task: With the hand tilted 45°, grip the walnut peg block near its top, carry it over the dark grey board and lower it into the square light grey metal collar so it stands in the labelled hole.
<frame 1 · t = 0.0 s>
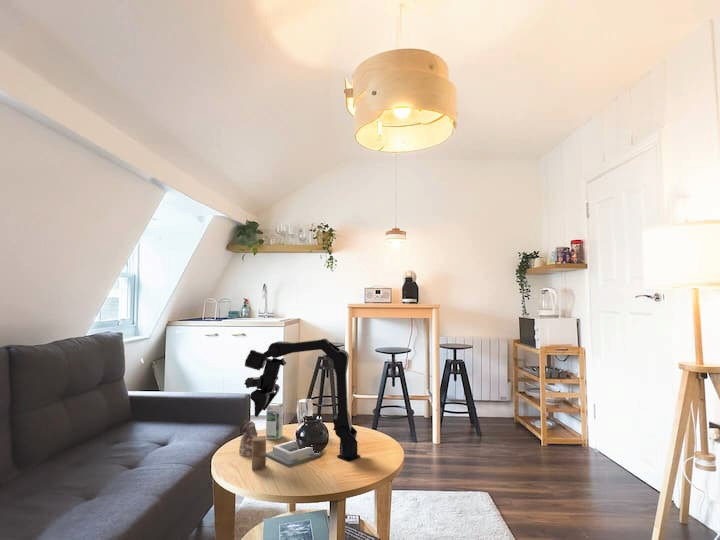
hand: (259, 413, 157), 15 cm above the table, tool pointing down, fingers open, 9 cm apart
beer glass: (304, 435, 178), on the table
figurine: (248, 453, 157), on the table
walnut peg block: (258, 467, 143), on the table
syrup box: (274, 437, 175), on the table
socket board: (293, 455, 154), on the table
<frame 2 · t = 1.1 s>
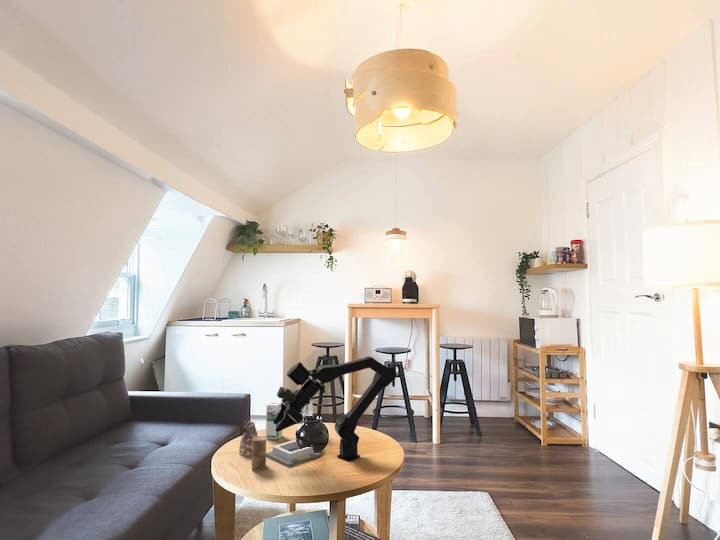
hand: (275, 427, 146), 13 cm above the table, tool tilted 45°, fingers open, 9 cm apart
nothing on the table moved.
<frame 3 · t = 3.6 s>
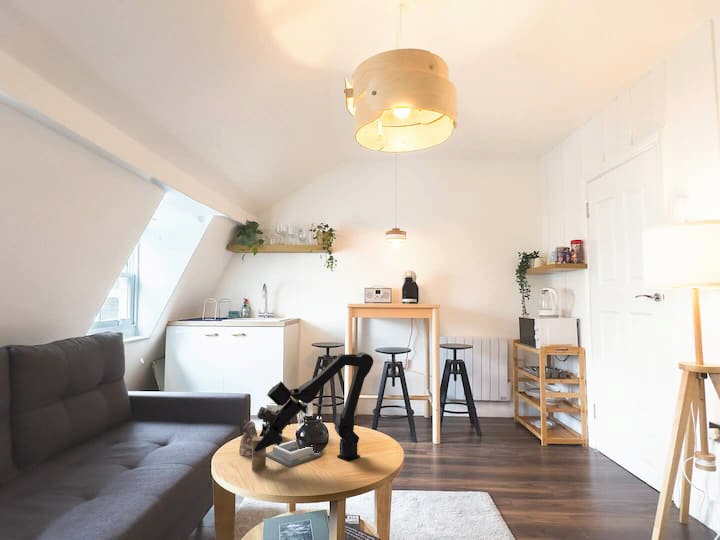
hand: (254, 448, 143), 7 cm above the table, tool tilted 45°, fingers closed on walnut peg block, 4 cm apart
walnut peg block: (258, 467, 143), on the table, touching gripper
everything else where it was.
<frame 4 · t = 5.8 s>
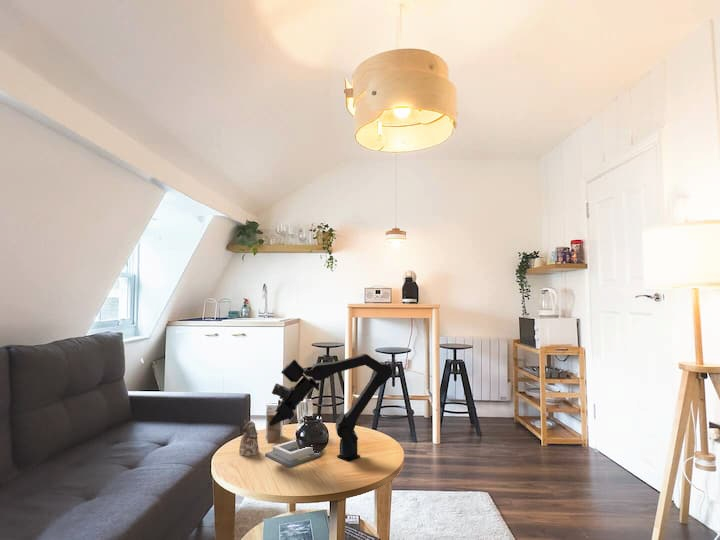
hand: (270, 422, 150), 14 cm above the table, tool tilted 45°, fingers closed on walnut peg block, 4 cm apart
walnut peg block: (274, 441, 149), point 7 cm above the table, touching gripper
everything else where it was.
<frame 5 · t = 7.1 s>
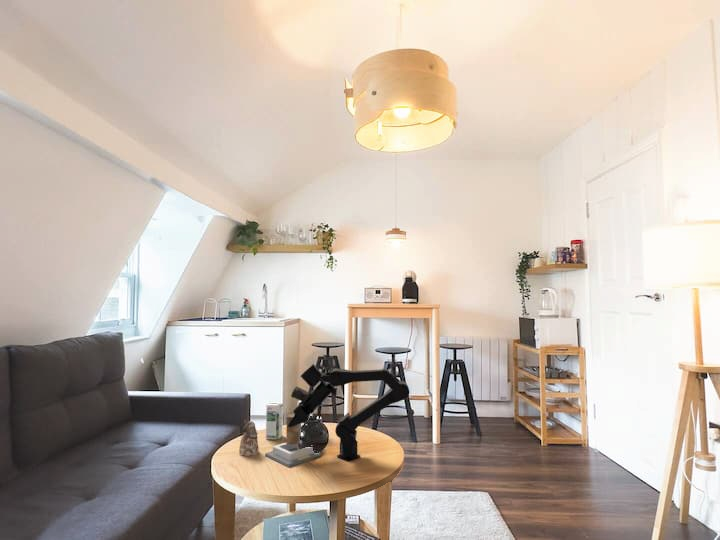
hand: (290, 424, 155), 12 cm above the table, tool tilted 45°, fingers closed on walnut peg block, 4 cm apart
walnut peg block: (293, 442, 154), point 5 cm above the table, touching gripper
everything else where it was.
when the fingers open (9 cm above the table, at t = 8.0 s): walnut peg block drops 1 cm, resting on socket board.
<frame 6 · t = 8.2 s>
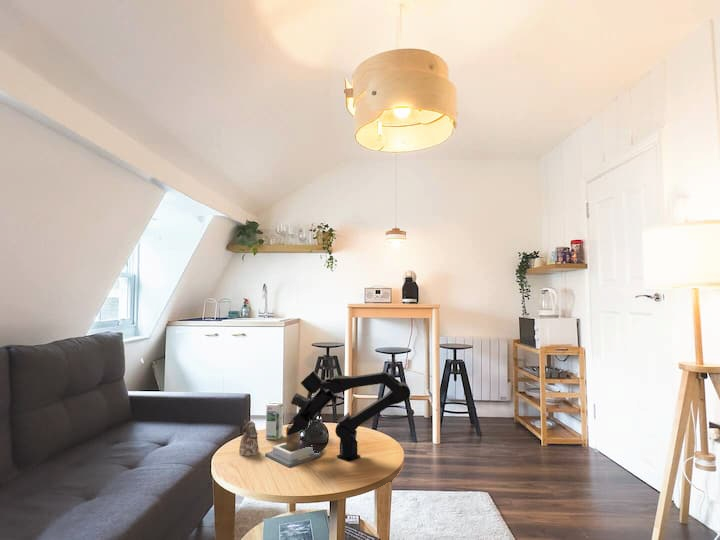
hand: (289, 431, 155), 9 cm above the table, tool tilted 45°, fingers open, 7 cm apart
walnut peg block: (293, 453, 154), point 1 cm above the table, touching socket board
everything else where it was.
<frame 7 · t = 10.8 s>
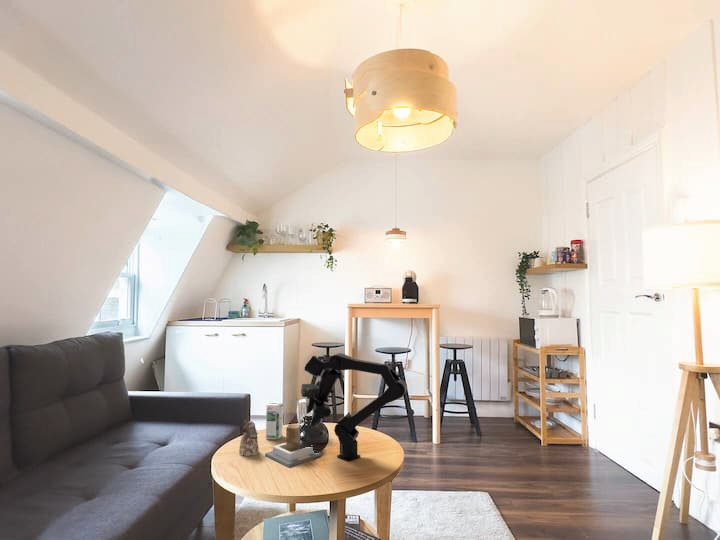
hand: (309, 418, 158), 13 cm above the table, tool tilted 25°, fingers open, 9 cm apart
nothing on the table moved.
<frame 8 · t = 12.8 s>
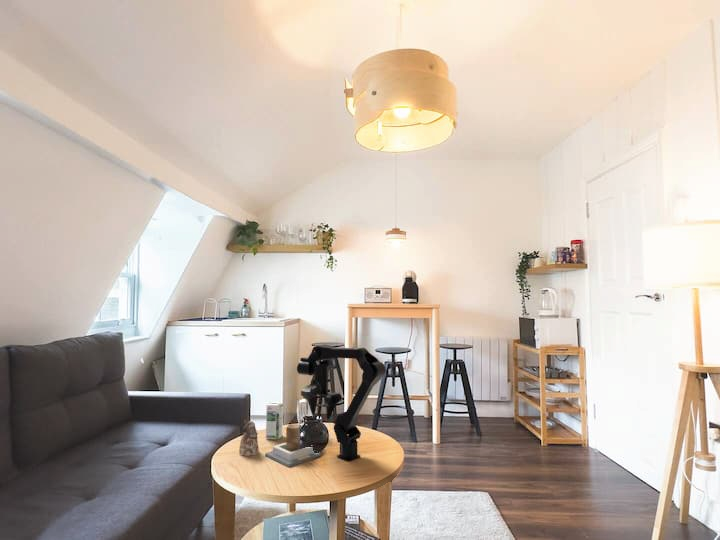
hand: (320, 416, 161), 13 cm above the table, tool pointing down, fingers open, 9 cm apart
nothing on the table moved.
at the end: walnut peg block 0.0 cm off-centre on the socket board, point 1.0 cm above the socket board's base; walnut peg block tilted 0°; the gripper is holding nothing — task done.
